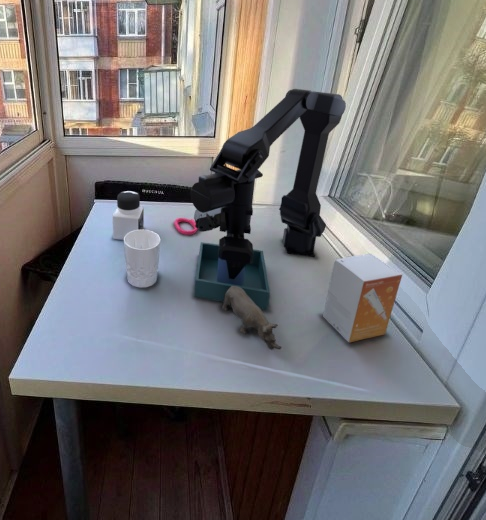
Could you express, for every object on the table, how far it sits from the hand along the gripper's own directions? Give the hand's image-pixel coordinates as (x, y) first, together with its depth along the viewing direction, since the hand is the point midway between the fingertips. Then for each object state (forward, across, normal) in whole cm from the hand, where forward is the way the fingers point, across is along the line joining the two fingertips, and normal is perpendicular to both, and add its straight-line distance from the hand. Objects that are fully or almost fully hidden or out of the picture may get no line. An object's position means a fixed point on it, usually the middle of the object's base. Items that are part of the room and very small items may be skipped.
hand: (231, 264), depth 72 cm
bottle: (+4, 0, 0) cm, 4 cm away
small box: (+4, +7, +22) cm, 23 cm away
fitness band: (+4, -20, -12) cm, 24 cm away
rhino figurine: (+4, +13, +3) cm, 14 cm away
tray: (+4, 0, 0) cm, 4 cm away
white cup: (+4, +4, -19) cm, 20 cm away
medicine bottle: (+4, -13, -27) cm, 30 cm away
